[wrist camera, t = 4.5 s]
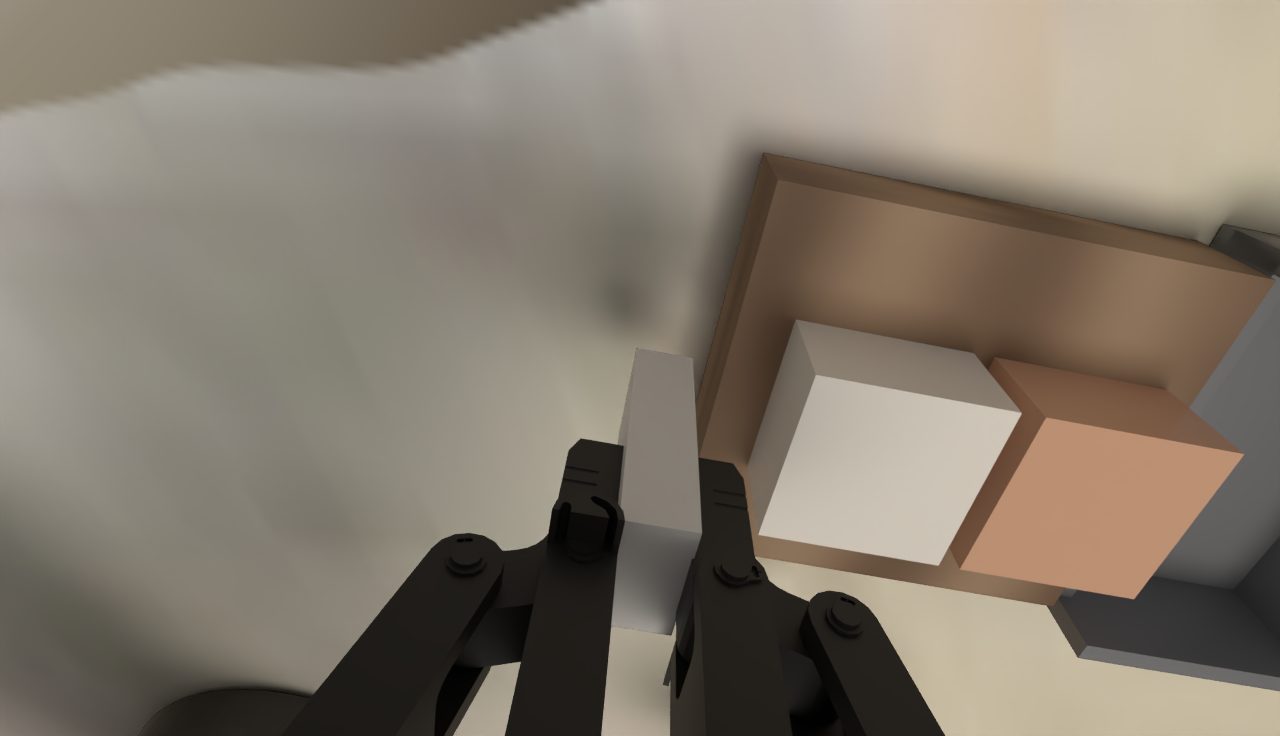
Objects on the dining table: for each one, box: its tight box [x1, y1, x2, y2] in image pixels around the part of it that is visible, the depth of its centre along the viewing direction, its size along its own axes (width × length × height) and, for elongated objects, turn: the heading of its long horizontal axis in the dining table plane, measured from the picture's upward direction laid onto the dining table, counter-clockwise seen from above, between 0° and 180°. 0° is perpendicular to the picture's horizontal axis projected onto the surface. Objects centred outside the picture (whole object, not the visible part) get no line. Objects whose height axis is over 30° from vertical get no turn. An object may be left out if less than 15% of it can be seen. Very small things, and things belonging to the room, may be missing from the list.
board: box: [695, 153, 1276, 606], centre depth 22 cm, size 13×12×3 cm
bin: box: [1047, 224, 1280, 691], centre depth 22 cm, size 9×13×4 cm, turn 169°
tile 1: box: [949, 357, 1244, 599], centre depth 19 cm, size 5×5×3 cm
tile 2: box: [747, 320, 1022, 566], centre depth 19 cm, size 5×5×3 cm
